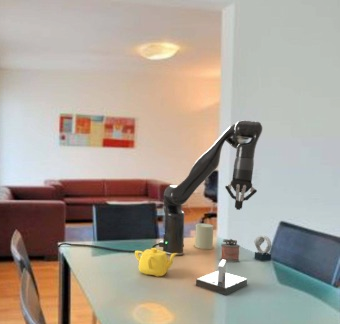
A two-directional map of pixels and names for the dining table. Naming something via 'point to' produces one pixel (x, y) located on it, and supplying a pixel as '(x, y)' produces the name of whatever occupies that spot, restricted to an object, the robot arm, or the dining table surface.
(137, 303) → the dining table surface
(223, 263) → the knob
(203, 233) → the can
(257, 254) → the watch
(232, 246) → the lighter
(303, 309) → the dining table surface
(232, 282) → the hob panel
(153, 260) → the teapot
